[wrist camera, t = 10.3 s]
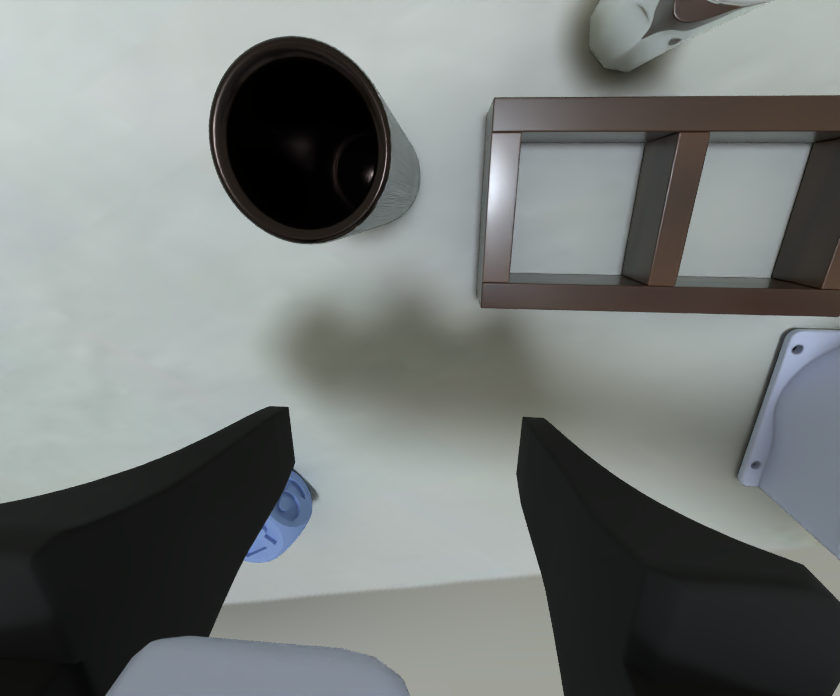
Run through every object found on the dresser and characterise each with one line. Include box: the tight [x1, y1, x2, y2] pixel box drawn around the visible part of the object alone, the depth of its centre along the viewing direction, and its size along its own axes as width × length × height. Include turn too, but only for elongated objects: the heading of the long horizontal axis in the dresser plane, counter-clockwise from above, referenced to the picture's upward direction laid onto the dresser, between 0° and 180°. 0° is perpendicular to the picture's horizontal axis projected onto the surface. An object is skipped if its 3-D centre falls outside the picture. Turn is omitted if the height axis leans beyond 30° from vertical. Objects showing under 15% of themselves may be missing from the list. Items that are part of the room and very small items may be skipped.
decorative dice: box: [244, 471, 312, 563], centre depth 24 cm, size 4×4×4 cm
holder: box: [477, 95, 840, 317], centre depth 18 cm, size 8×16×3 cm, turn 89°
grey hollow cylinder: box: [209, 36, 420, 244], centre depth 14 cm, size 4×4×10 cm
